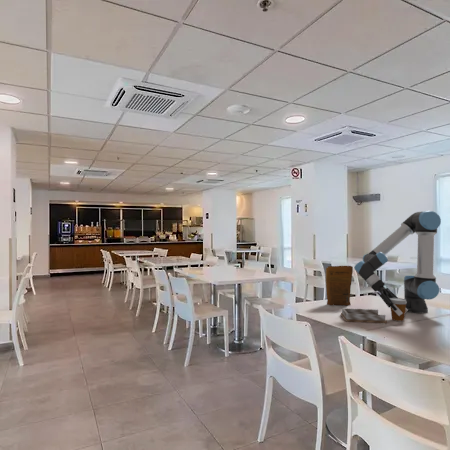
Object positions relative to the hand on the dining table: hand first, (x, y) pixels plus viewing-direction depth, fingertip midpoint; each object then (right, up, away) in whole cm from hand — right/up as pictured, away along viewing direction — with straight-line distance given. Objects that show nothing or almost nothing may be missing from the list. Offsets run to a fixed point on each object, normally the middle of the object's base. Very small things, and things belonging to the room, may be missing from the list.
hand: (403, 313), depth 199 cm
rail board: (-22, -4, +4) cm, 23 cm away
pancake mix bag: (-23, -6, +43) cm, 49 cm away
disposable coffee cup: (-2, -5, +2) cm, 6 cm away
